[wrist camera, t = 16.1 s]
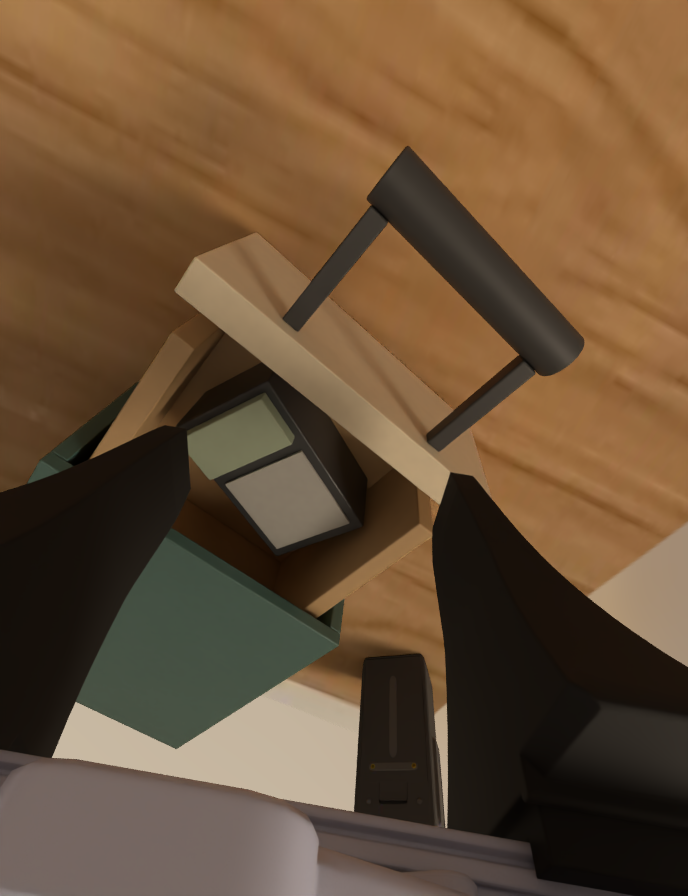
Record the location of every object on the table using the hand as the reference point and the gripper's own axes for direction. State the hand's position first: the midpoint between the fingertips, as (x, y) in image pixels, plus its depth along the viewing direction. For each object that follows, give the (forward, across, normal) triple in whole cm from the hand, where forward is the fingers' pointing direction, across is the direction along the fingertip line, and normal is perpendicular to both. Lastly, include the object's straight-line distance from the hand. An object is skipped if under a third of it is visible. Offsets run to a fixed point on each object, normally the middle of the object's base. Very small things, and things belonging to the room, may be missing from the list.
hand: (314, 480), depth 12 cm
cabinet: (+9, +8, +12) cm, 17 cm away
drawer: (+8, +1, +2) cm, 9 cm away
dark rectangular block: (+7, +2, +3) cm, 8 cm away
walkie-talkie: (+9, -7, +22) cm, 25 cm away
